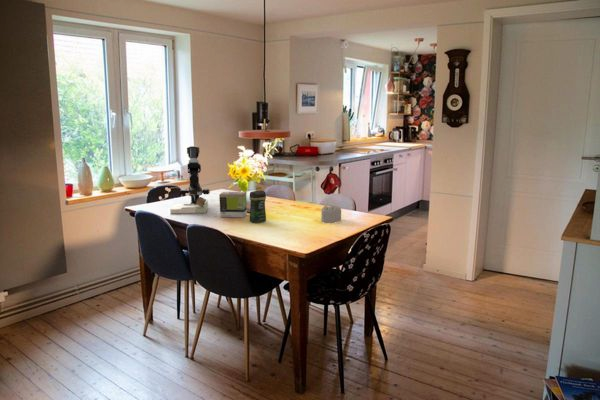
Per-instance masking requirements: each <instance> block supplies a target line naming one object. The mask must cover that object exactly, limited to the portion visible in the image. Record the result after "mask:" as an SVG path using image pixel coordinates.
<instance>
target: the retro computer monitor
mask: <svg viewBox="0 0 600 400" xmlns="http://www.w3.org/2000/svg"><path fill="white" fill-rule="evenodd" d="M218 196H219V197H218V198H219V214H220V215H219V216H220V218H245V217H246V216H247V214H248V210H247V206H248V205H247V203H248V202H247V191H222V192H221V193H219V195H218Z"/></svg>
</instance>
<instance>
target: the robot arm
mask: <svg viewBox="0 0 600 400" xmlns="http://www.w3.org/2000/svg"><path fill="white" fill-rule="evenodd" d="M186 154H187V157H188V158H189V160H188V163H187V173H188V174H189V178H188V179H189V186H188V188H187V189H188V190H187V189H186V188H182V189H180V190H179V195H181V196H184V195H186V194H188V196H189V197H190V199H191V200H190V203H189V204H194V205H196V202H197V200H198V198H199V197H201V196H202V195H210V193H211V191H210V189H209V188H202V186H201V184H200V180H199V179H200V176H199V175H200V174H199V173H201V171H202V168H201V163H200V162H199V160H198V158H199V155H200V147H199V146H196V145H194V146H193V145H190V146H188V147H187V148H186Z"/></svg>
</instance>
